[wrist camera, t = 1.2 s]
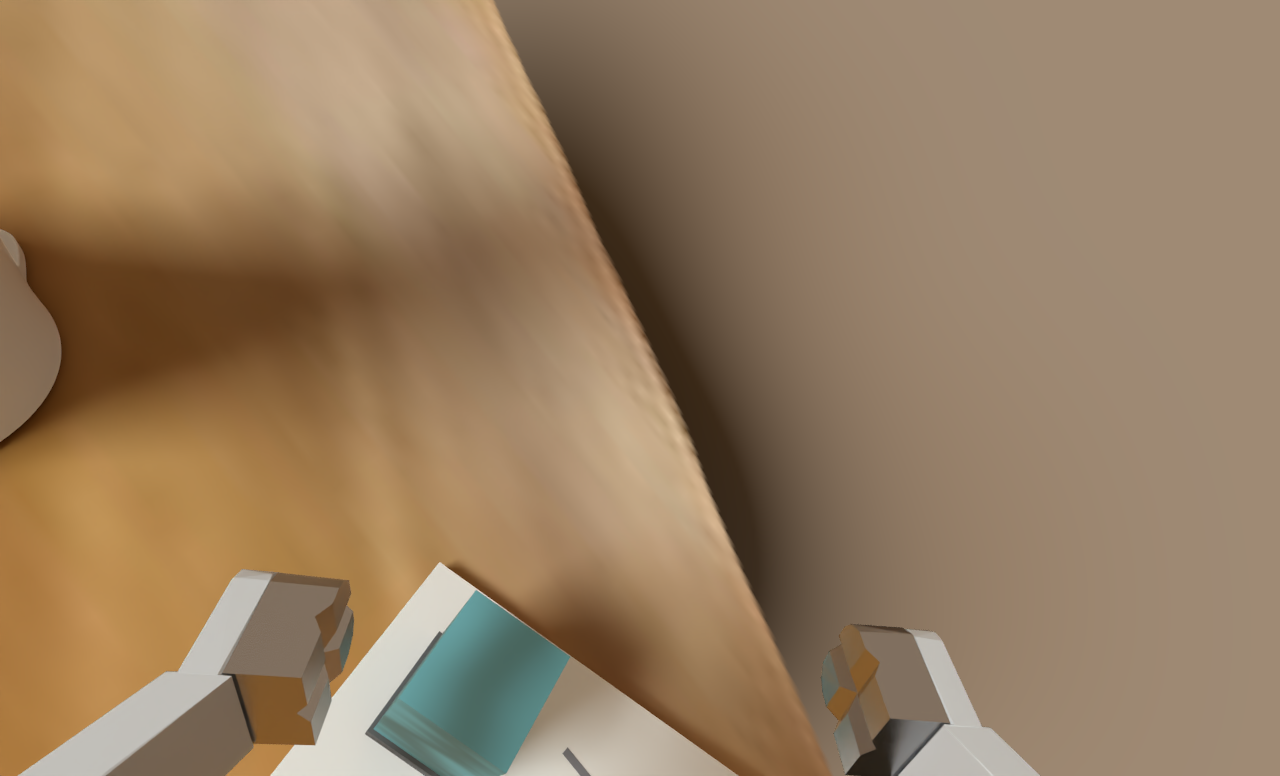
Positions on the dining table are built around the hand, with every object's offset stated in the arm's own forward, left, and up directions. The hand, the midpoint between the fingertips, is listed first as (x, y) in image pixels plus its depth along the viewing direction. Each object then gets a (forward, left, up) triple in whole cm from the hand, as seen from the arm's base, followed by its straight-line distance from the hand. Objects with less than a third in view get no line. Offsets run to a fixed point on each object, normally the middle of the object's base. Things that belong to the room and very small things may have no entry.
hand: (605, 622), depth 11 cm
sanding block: (+2, +3, -27) cm, 27 cm away
